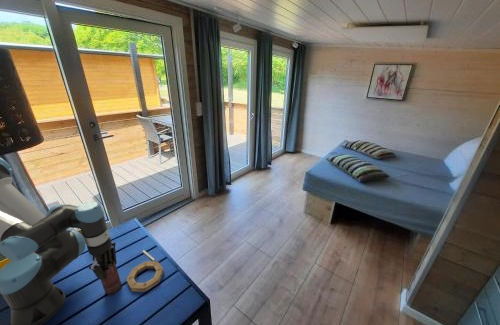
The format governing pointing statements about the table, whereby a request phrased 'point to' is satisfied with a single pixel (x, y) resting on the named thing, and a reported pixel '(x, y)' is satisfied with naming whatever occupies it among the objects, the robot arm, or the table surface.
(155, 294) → the table surface
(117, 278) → the can
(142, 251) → the straight beige square stick
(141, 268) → the wooden ring
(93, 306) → the table surface
